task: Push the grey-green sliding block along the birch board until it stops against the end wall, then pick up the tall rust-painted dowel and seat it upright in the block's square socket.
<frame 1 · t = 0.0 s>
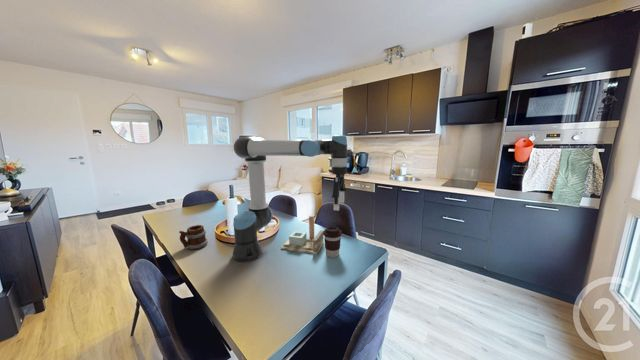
hand: (339, 206, 115), 28 cm above the table, fingers open, 13 cm apart
board: (302, 245, 131), on the table
dowel: (311, 238, 140), on the table
coffee cup: (332, 254, 121), on the table
block: (297, 238, 131), point 4 cm above the table, slide at 0.0 cm
mug: (195, 247, 131), on the table
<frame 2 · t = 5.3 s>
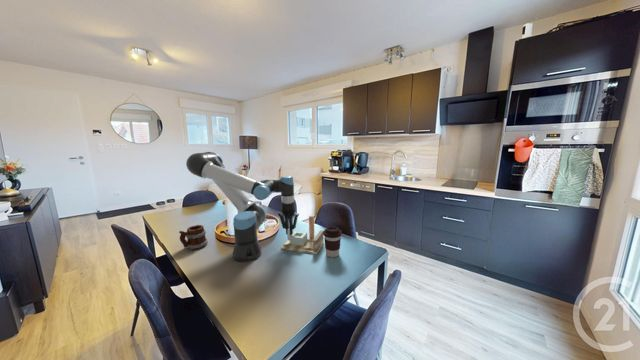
hand: (289, 239, 133), 3 cm above the table, fingers closed
block: (298, 238, 131), point 4 cm above the table, slide at 0.4 cm, touching gripper
everything else where it was.
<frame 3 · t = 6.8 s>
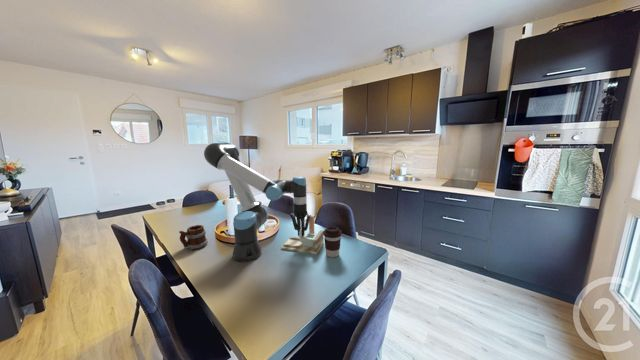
hand: (301, 241, 130), 3 cm above the table, fingers closed
block: (310, 240, 128), point 4 cm above the table, slide at 8.0 cm, touching board, gripper
everything else where it was.
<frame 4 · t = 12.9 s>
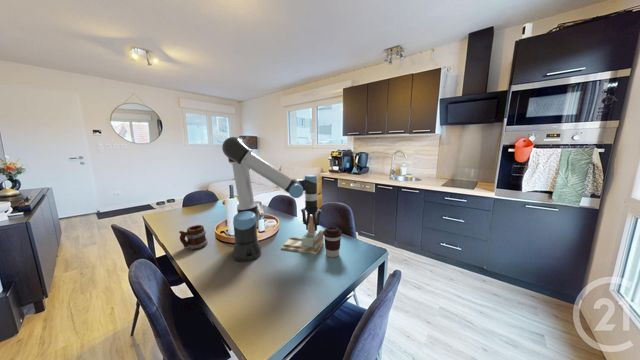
hand: (311, 234, 140), 3 cm above the table, fingers closed on dowel, 3 cm apart
dowel: (311, 238, 140), on the table, touching gripper
block: (310, 240, 128), point 4 cm above the table, slide at 8.0 cm
everything else where it was.
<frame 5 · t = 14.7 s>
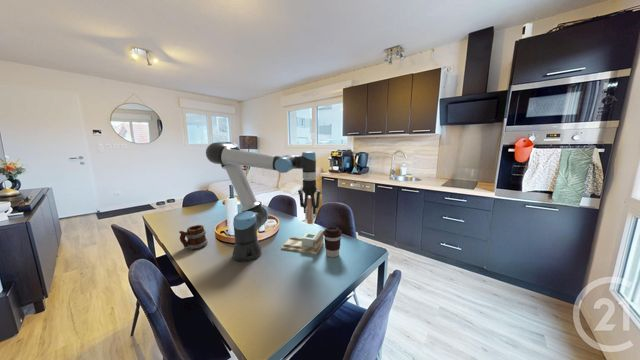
hand: (309, 218, 127), 17 cm above the table, fingers closed on dowel, 3 cm apart
dowel: (309, 222, 127), point 15 cm above the table, touching gripper
everything else where it was.
when the fingers open (9 cm above the table, at t = 16.6 s): dowel drops 3 cm, resting on block.
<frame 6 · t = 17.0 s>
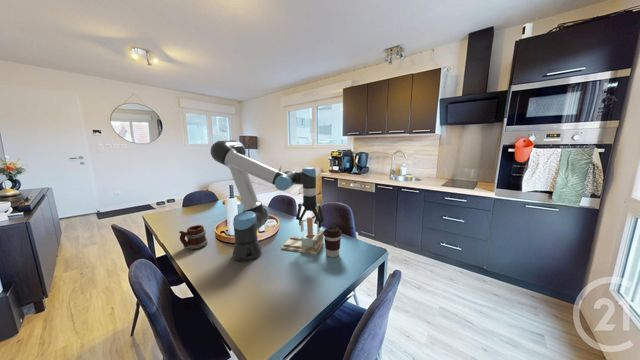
hand: (310, 231, 128), 10 cm above the table, fingers open, 9 cm apart
dowel: (310, 242, 129), point 3 cm above the table, touching block
block: (310, 240, 128), point 4 cm above the table, slide at 8.0 cm, touching dowel
everything else where it was.
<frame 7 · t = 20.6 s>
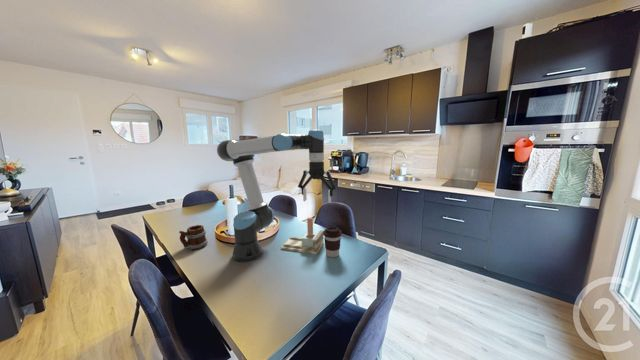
hand: (317, 201, 114), 31 cm above the table, fingers open, 13 cm apart
nothing on the table moved.
at the end: block slide at 8.0 cm; dowel 0.0 cm off-centre on the block, point 1.5 cm above the block's base; dowel tilted 0° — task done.
